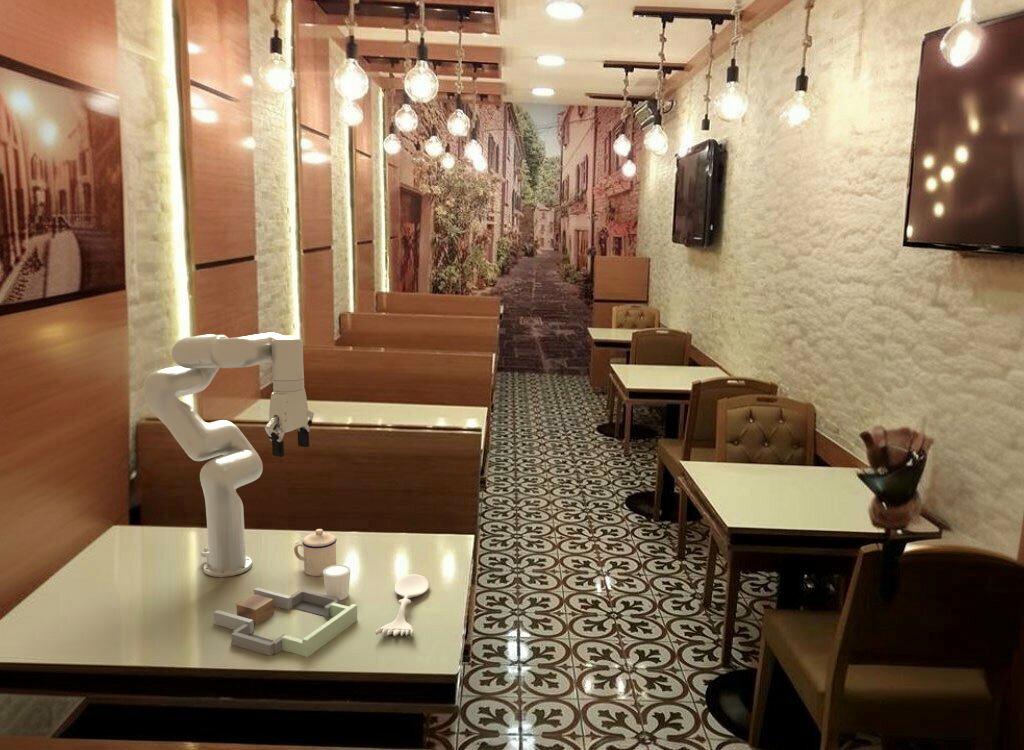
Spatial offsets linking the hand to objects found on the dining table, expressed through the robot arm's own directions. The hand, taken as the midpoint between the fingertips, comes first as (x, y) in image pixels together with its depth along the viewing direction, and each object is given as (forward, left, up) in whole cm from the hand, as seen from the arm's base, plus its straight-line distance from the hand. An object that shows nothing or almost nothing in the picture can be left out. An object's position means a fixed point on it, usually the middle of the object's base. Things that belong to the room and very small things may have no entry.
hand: (291, 451), depth 199 cm
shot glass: (+13, 0, -37) cm, 39 cm away
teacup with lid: (-2, +10, -37) cm, 38 cm away
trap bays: (+12, -17, -37) cm, 42 cm away
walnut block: (+2, -17, -37) cm, 41 cm away
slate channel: (+10, -17, -37) cm, 42 cm away
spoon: (+33, +1, -37) cm, 50 cm away
